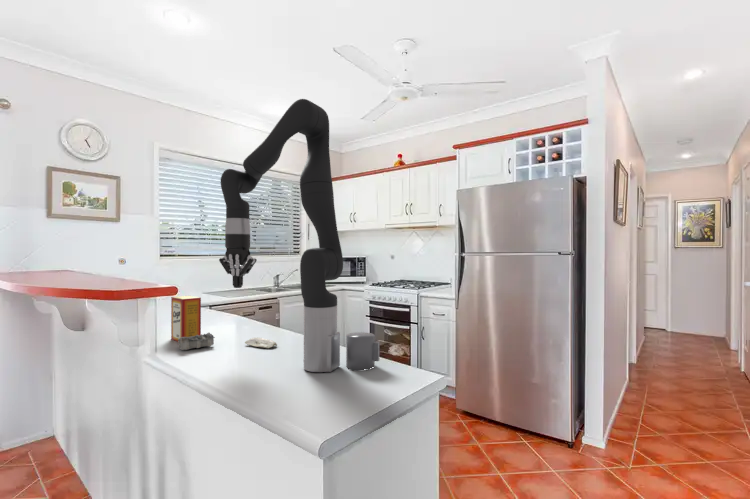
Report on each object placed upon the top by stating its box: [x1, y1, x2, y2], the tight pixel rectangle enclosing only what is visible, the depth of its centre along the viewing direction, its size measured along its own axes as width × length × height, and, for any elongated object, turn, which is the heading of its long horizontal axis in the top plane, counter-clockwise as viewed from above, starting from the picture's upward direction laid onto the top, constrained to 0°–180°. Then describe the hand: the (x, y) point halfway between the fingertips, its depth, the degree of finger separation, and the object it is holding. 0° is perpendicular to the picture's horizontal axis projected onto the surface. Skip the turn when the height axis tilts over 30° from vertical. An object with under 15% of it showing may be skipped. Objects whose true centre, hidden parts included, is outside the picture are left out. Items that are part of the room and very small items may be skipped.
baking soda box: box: [170, 295, 202, 343], centre depth 144 cm, size 10×6×16 cm
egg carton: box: [177, 332, 216, 351], centre depth 132 cm, size 11×8×4 cm
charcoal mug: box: [345, 331, 380, 371], centre depth 111 cm, size 9×8×9 cm
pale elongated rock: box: [244, 337, 278, 349], centre depth 134 cm, size 12×5×4 cm
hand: (237, 287), depth 125 cm, fingers closed
